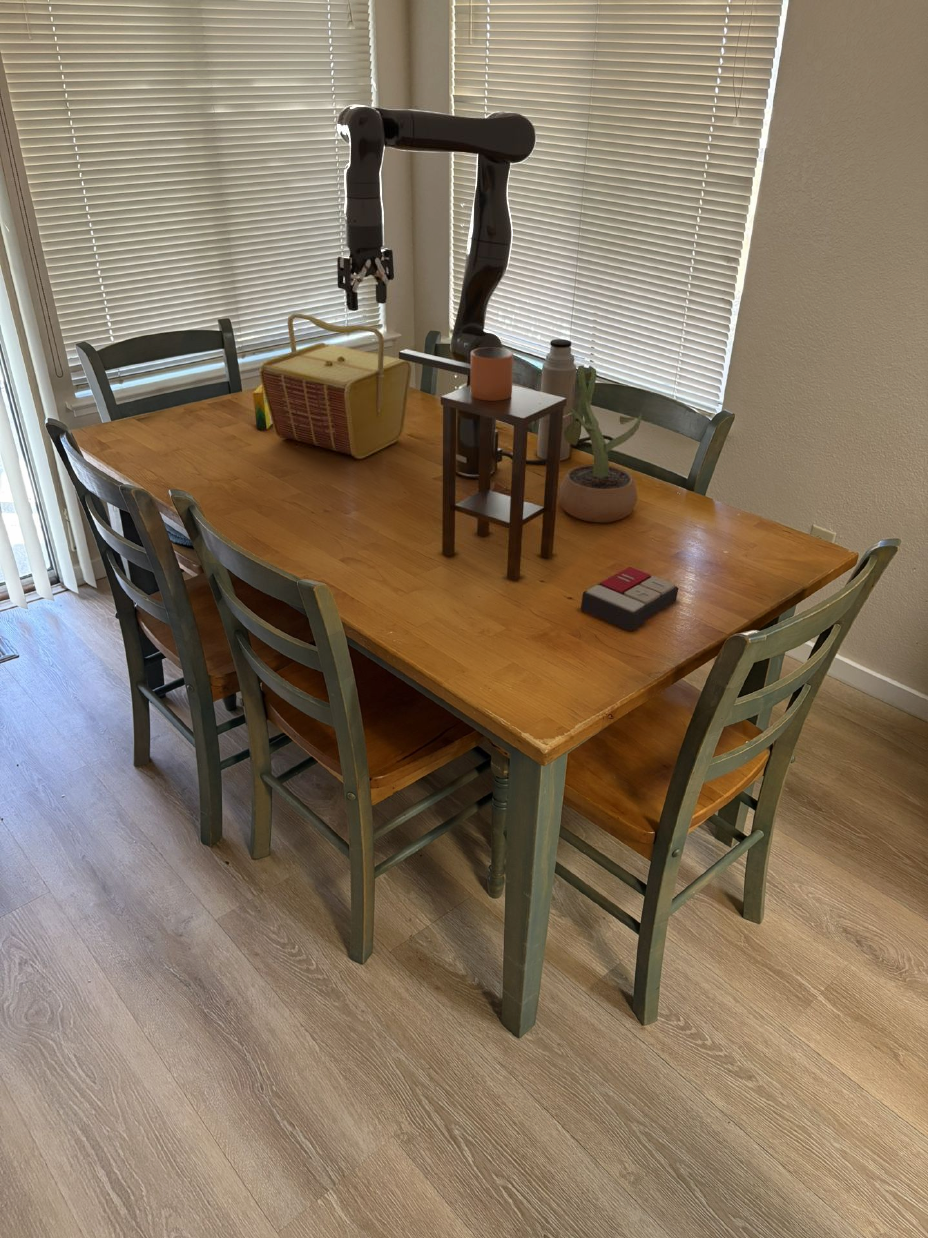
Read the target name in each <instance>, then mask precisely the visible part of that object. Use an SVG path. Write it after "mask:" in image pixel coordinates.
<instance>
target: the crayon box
mask: <svg viewBox="0 0 928 1238" xmlns="http://www.w3.org/2000/svg"><path fill="white" fill-rule="evenodd" d="M252 397H253V398H252V399H253V407H254V417H255V425H256V430H268V429H269V428H270V427H271V425H273V423H272V419H271V415H270V412H269V408H268V404H267V401H266V397H265V393H264V390H263V386H262V383H261V384H260V385H259V386H258V387H257V388H256V389H255V390H253V392H252Z"/></svg>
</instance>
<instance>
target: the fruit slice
mask: <svg viewBox="0 0 928 1238" xmlns="http://www.w3.org/2000/svg"><path fill="white" fill-rule="evenodd" d="M490 490H491V491H494V492H497V493H500V494H503V495H506V496H509V497H511V488H508V486H503V485H501V484H500V483H497V482H496V481H494V480H492V481H491V484H490Z"/></svg>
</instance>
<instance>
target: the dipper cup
mask: <svg viewBox="0 0 928 1238" xmlns="http://www.w3.org/2000/svg"><path fill="white" fill-rule="evenodd" d="M398 359H402V360H406V361H409V362H410V363H415V364H418V365H423V366H427V367H431V368H435V369H438V370H439V369H440V370H443V371H448V372H452V373H455V374H459V375H463V376H467V377H468V376H470V395H471V396H472V397H474V398H476V399H480V400H486V401H498V400H504V399H508V398H510V397H511V395H512V385H513V379H514V378H513V374H514V351H512V350H510V349H507V348H504V347H503V348H497V347H484V348H478V349H475V350H473V351H471V364H467V363H463V362H458V361H454V360H453V359H450V358H446V357H441V356H436V355H433V354H427V353H424V352H420V351H414V350H412V349H411V350H410V349H406V348H405V349H402V350H400V351H398Z"/></svg>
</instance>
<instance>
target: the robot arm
mask: <svg viewBox="0 0 928 1238" xmlns="http://www.w3.org/2000/svg"><path fill="white" fill-rule="evenodd" d="M336 120H337V121H336V128H337V133H338V135H339V136H340V138H341V139H342V141H343V142H345V143H346V144H347V145H349V163H347V164H346V166H344V167H345V168H344V173H343V175H344V179H343V180H344V229H345V245H346V247H347V248H348V250H349V252H348V253H349V254H348V256H341V255H340V256H337V258H336V261H337V262H336V263H337V264H336V265H337V267H336V268H337V272H336V273H337V275H336V276H337V288H338V289H341V290H344V291H345V297H346V298H345V299H346V308H347V309H348V310H349V311H353V312H357V311H358V310H359V300H358V299H359V298H358V297H359V296H358V293H359V292H358V288H359V286H360V284H361V283H362V282H363V281H364V279H365V278H368V277H369V276H372V277H373V279H374V281H375V282H376V283H375V302H376V303H377V304H381V305H383V304H386V303H387V299H388V293H387V292H388V288H387V287H388V286H387V285H388V284H389V281H392V280H394V278H395V271H394V270H395V268H394V253H393V250H392V249H390V248H385V247H384V246H385V229H384V228H385V227H384V225H385V223H384V222H385V221H384V206H383V200H382V199H383V197H382V176H381V174H382V173H381V172H382V167H383V161H384V155H385V154H384V153H385V148H390V149H394V150H398V151H404V152H417V153H418V152H419V153H459V154H461V153H462V154H473V155H476V175H475V189H474V195H473V196H474V197H473V203H472V211H471V219H470V226H469V232H468V238H467V245H466V254H465V264H464V272H463V279H462V284H461V291H460V297H459V302H458V304H459V305H458V308H457V312H456V317H455V321H454V325H453V328H452V329H453V330H452V334H451V338H450V346H449V347H450V355H451V358H452V360H454V361H458V362H463V363H467V364H471V351H473V350H475V349H478V348H484V347H497V348H504V346H503V343H502V339H501V338H500V336H499V335H497V334H496V333H494V332H492V331H490V330H487V329H485V324H486V316H487V311H488V306H489V303H490V300H491V299H492V297H493V295H494V293H495V291H496V289H498V287H499V285H500V283H501V282H502V280H503V278H504V277H505V274H506V272H507V270H508V267H509V262H510V257H511V252H512V251H511V250H512V244H513V222H512V217H511V211H510V206H509V197H508V187H509V179H510V171H511V166H512V165H516V164H520V163H522V162H524V161H526V160H527V159H528V158H529V157H530V156H531V155H532V154H533V152H534V150H535V147H536V143H537V133H536V132H537V131H536V129H535V126H534V124H533V123H532V121H531V120H530V119H529V118H528V117H526V116H525V115H523V114H521V113H520V112H519V113H518V112H515V111H514V112H511V111H494V112H492V113H490V114H488V115H487V116H486V117H468V116H459V115H453V114H447V113H442V112H435V111H428V110H418V109H407V108H406V109H403V108H401V109H399V108H398V109H388V108H381V107H376V106H368V105H363V104H362V105H361V104H350V105H348V106H346V107H344V108H343V109H342V111H341V112H340V113H339V115H338V117H337V119H336ZM469 385H470V376H468V375H467V379H466V383H463V384H461V385H459V386H458V387H457V389H456V390H459V389H462V388H464V387H467V386H469ZM496 429H497V420H496V419H493V425H492V455H491V476H493V475H494V474H495V472H496V471H497V470H498V463H501V462H503V456H504V457H507V458H509V459H510V460H511V461H512V457H513V453H509V452H506V451H504V449H503V448H500V447H499V434H500V433H499V431H498V430H496ZM602 435H603V438H604V440H607V441H609V442H610V441H611V440H613V439H614V438H613V437H612V436H609V435H607V434H602ZM589 441H591V439H590V437H589V436H586V437H582V438H581V437H580V438H579V440H578V442H577V444H579V443H584V442H589ZM479 443H480V415H477V414H474V413H470V412H466V411H462V410H459V409H456V475H458V476H461V477H463V478H468V479H479ZM571 447H574V445H572V444H570V448H571ZM540 464H547V459H542V458H541V459H526V465H540Z"/></svg>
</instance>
